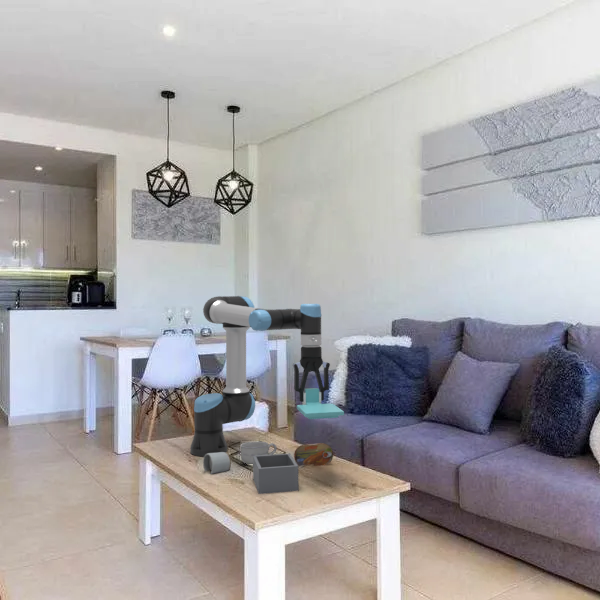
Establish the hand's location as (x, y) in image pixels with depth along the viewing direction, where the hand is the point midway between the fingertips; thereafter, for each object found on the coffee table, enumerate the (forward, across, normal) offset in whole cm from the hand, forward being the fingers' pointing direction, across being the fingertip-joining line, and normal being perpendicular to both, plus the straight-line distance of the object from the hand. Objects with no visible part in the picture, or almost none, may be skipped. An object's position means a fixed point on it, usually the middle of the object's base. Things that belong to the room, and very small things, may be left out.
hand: (311, 409), depth 200 cm
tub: (+23, -16, -12) cm, 30 cm away
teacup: (+23, -18, +15) cm, 33 cm away
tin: (+23, +2, +8) cm, 25 cm away
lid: (-1, 0, -9) cm, 9 cm away
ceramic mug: (+23, -35, +9) cm, 43 cm away
